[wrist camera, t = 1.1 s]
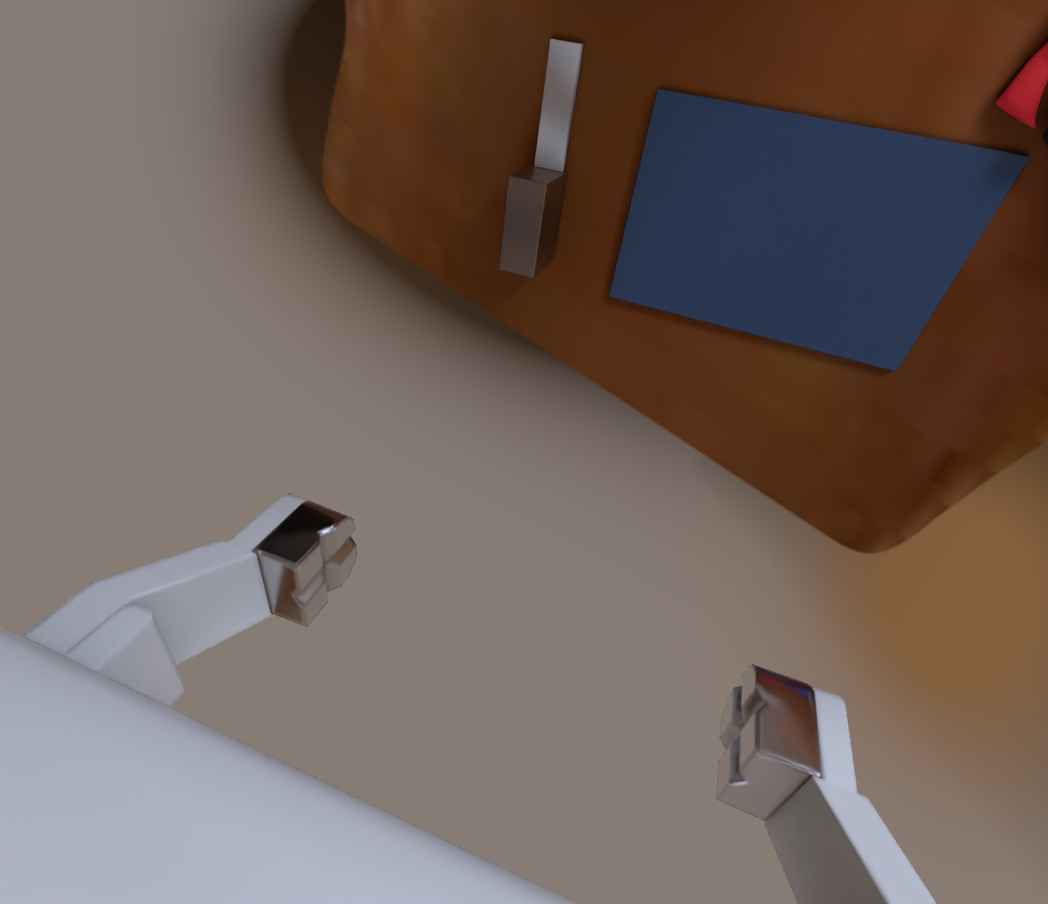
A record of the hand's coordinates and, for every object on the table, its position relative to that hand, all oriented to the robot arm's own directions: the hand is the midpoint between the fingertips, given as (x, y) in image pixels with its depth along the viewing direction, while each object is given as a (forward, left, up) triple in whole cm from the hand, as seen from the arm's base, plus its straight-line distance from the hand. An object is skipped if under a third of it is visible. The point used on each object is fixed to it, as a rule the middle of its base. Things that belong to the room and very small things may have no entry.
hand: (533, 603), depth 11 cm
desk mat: (0, +6, -33) cm, 34 cm away
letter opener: (-2, -10, -33) cm, 35 cm away
